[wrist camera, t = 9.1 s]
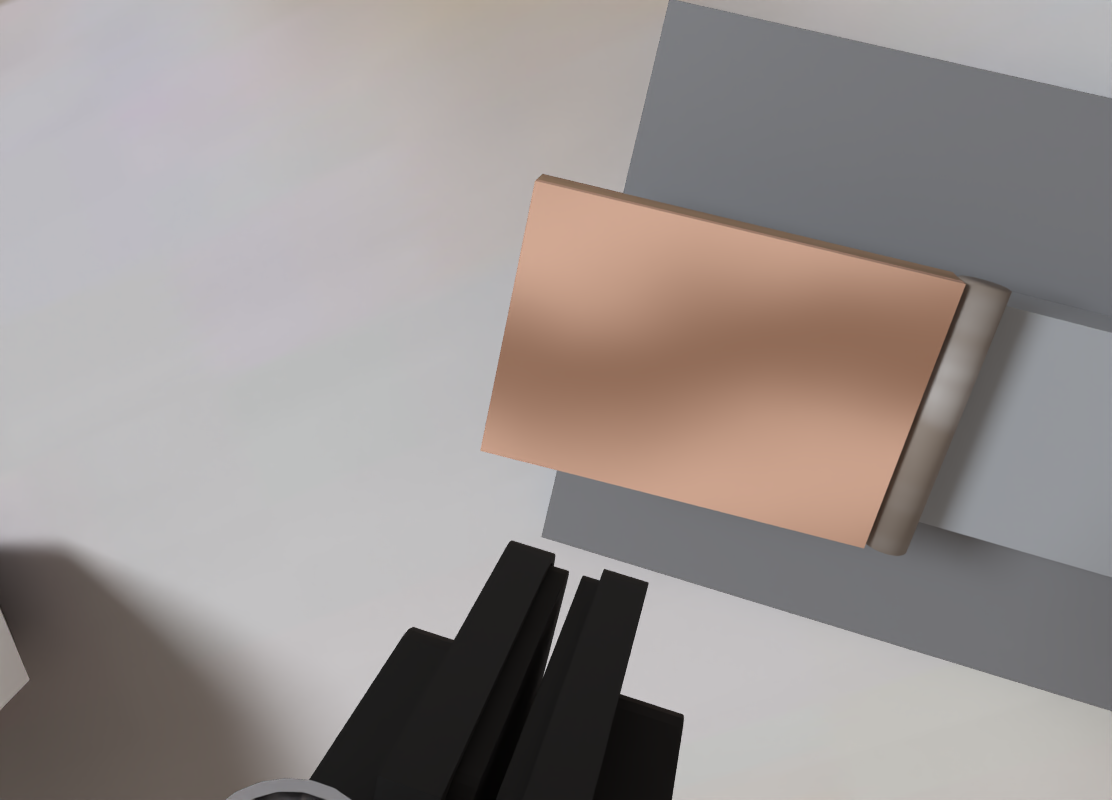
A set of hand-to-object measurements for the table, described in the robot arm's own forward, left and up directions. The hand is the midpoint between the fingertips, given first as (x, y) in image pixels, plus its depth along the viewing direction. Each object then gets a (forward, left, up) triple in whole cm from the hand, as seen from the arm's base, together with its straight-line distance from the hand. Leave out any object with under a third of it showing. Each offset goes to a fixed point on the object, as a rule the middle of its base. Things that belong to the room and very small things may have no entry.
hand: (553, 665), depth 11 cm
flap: (0, +2, -13) cm, 13 cm away
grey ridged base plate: (0, +8, -18) cm, 20 cm away
